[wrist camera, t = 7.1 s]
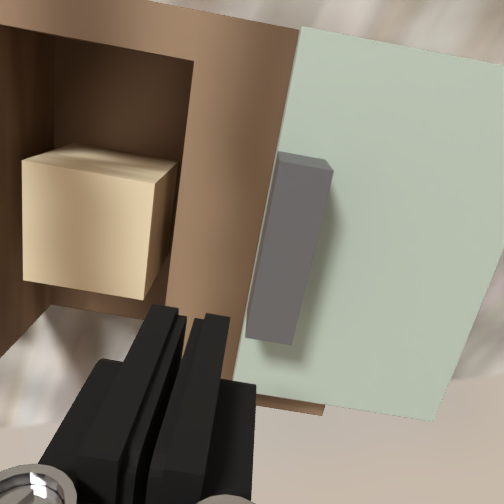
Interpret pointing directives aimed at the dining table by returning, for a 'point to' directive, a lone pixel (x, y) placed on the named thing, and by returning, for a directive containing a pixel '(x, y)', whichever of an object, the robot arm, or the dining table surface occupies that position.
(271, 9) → the dining table surface
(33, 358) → the dining table surface
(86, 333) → the dining table surface
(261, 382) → the sliding lid
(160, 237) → the birch block
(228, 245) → the brown open box
